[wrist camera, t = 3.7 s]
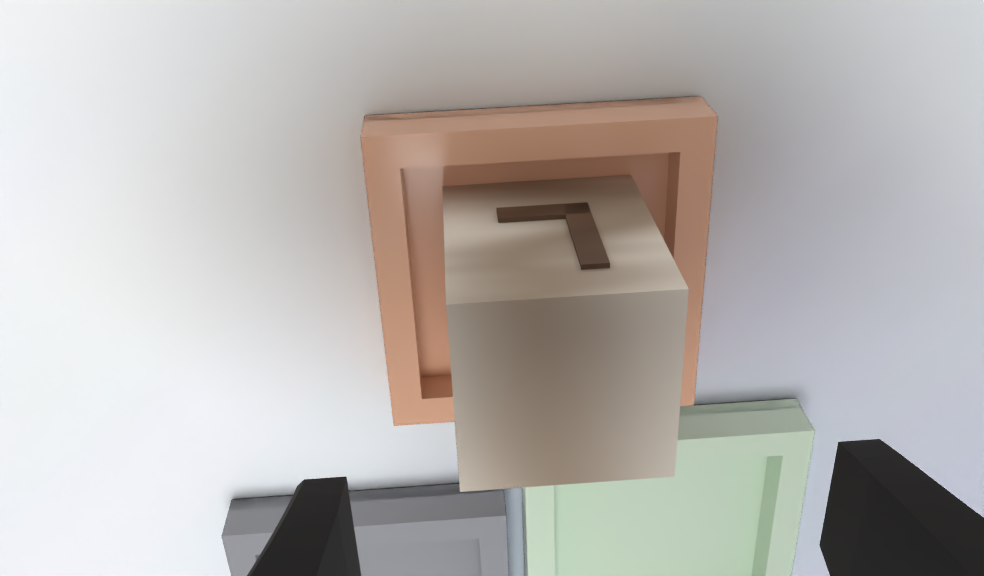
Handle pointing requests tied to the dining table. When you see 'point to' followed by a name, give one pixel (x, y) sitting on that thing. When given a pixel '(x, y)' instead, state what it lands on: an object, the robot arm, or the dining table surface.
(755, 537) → the green dish
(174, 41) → the dining table surface
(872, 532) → the robot arm
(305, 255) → the dining table surface
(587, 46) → the dining table surface
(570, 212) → the letter block
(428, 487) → the grey dish
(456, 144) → the terracotta dish
